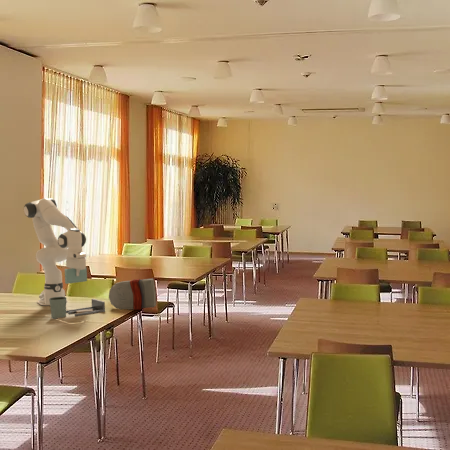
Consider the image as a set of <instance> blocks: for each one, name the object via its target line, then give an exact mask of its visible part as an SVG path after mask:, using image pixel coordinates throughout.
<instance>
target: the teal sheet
mask: <svg viewBox="0 0 450 450" xmlns="http://www.w3.org/2000/svg"><path fill="white" fill-rule="evenodd" d="M87 271H88V269H87V266H86V268H85V270H80V272H79V276H76V274H75V273H76V269H74V268H64V283H65V284H76V283H83V282H87V281H88V272H87Z"/></svg>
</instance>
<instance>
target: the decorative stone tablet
mask: <svg viewBox="0 0 450 450" xmlns="http://www.w3.org/2000/svg"><path fill="white" fill-rule="evenodd" d="M108 291H109V292H108V299H109V302H110V304H111V305H112V306H113V307H114V308H115V309H118V310H122V309H128V310H135V311H142V310H143V309H147V308H148V309H149V308H155V307H156V306H157V297H156V295H157V293H156V287H155V279H154V278H143V279H142V278H141V279H140V278H137V279H131V280H124V281H123V280H122V281H119V282H116V283H114V285H112V286H111V287H110V289H109V290H108Z"/></svg>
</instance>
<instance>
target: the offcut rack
mask: <svg viewBox="0 0 450 450" xmlns="http://www.w3.org/2000/svg"><path fill="white" fill-rule="evenodd" d="M90 309H92V310H93V311H90V312H84V313H77V314H75V313H76V311H79V310H90ZM105 312H106V303H105V301H102V300H99V299H96V298H91V306H88V307H87V306H86V307H82V308H80V307H79V308H74V309H68V310H67V309H66V314H68V315H72V314H74V317H78V316H79V317H80V316H85V315H91V314H92V315H93V314H98V313H105Z"/></svg>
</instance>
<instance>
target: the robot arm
mask: <svg viewBox="0 0 450 450" xmlns="http://www.w3.org/2000/svg"><path fill="white" fill-rule="evenodd" d="M56 202H57V201H56V200H55V199H54V198H52V197H43V198H41V199H36V200H33V201H29V202H27V203H25V204H24V205H23V212H24V215H25V216H26V217H27V218H29V219H31V220H32V224H33V229H34V233H35V234H36V238H37V240H38V242H39V243H40V244H42V245H43V246H45V247H43V248H40V249H38V250H37V251H36V253H35V259H36V262H37V263H39V264H40V265H41V267H42V268H43V269H42V270H43V271H44V282H45V283H44V287H43V288H44V289H43V290H42V291H41V293H40V294H39V295H38V298H39V300H36V303H38V305H41V306H50V301H49V299H50V298H53V297H66V290H65V289H64V282H63V273H62V272H63V271H62V270H61V269H59V268H58V267H57V263H59V262H60V263H61V262H64V261H65V266H66V268H67V269H70V268H74V269H76V273H75V274H76V276H79V272H80V270H85V268H86V267H87V262H86V261H87V259H86V257H87V254H86V252H84V251H83V247H84V246H85V244H86V243H87V236H86V235H85V233H84V232H82V231H81V230H80V229H79V228H78V227H77V226H76V224H75V223H74V222H73V221H72V220H71V219H70V218H69V217H68V216H67V215H65V214H64V213H63V212H61V210H60V209H58V207H57V206H58V205H57V203H56ZM52 226H56V227H57V226H58V227H61V228H64V229H66V232H64V233H60V235H58V238H57V237H56V235H55V232H54V230H53V228H52ZM66 303H68V299H66Z"/></svg>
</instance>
